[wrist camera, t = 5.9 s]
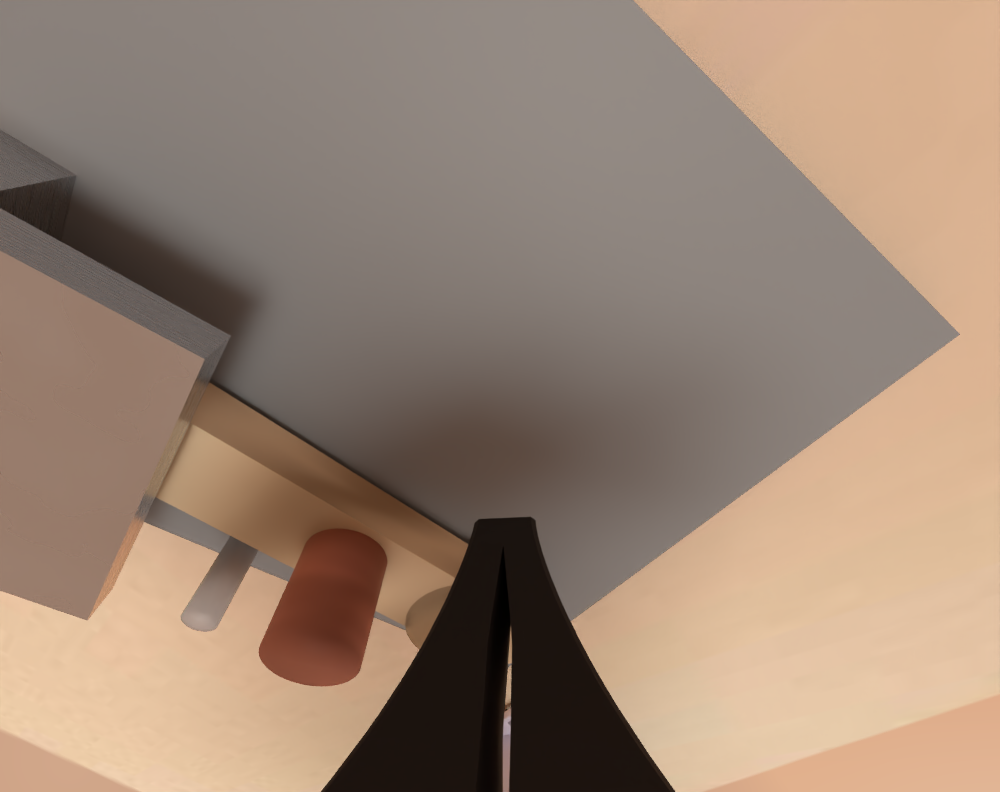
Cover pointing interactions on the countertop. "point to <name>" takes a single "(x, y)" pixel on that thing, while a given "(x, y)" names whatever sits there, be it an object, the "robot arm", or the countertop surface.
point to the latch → (312, 538)
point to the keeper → (81, 395)
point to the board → (468, 255)
